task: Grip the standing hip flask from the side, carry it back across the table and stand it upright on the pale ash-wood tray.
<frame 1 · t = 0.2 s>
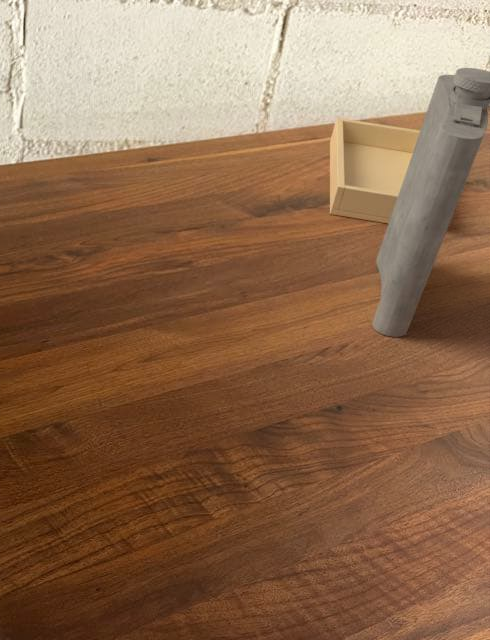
tray: (378, 183, 104), on the table
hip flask: (394, 297, 86), on the table
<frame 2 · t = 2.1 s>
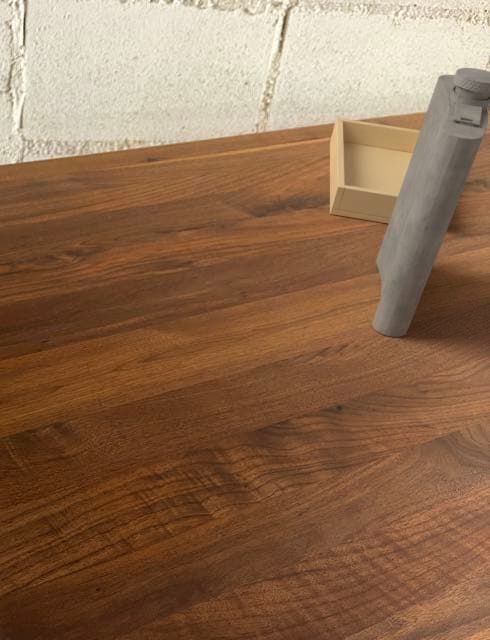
nothing on the table moved.
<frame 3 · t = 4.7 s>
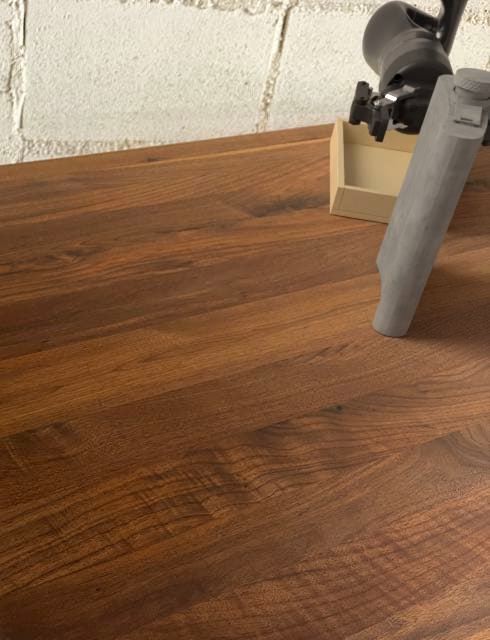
hand: (427, 139, 85), 11 cm above the table, tool horizontal, fingers open, 8 cm apart
nothing on the table moved.
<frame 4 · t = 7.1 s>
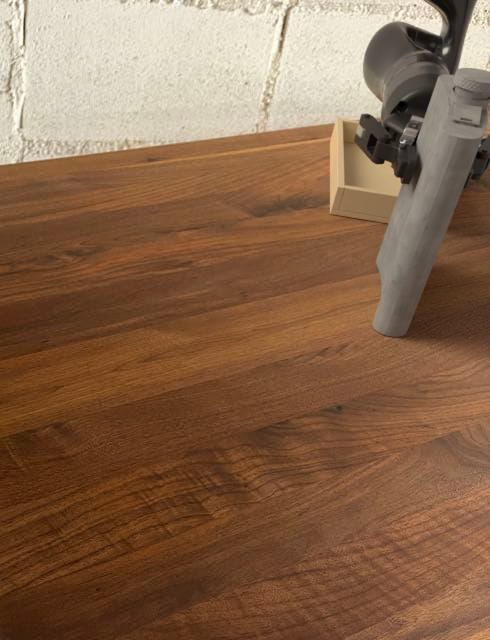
hand: (434, 177, 79), 11 cm above the table, tool horizontal, fingers closed on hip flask, 4 cm apart
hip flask: (394, 297, 86), on the table, touching gripper
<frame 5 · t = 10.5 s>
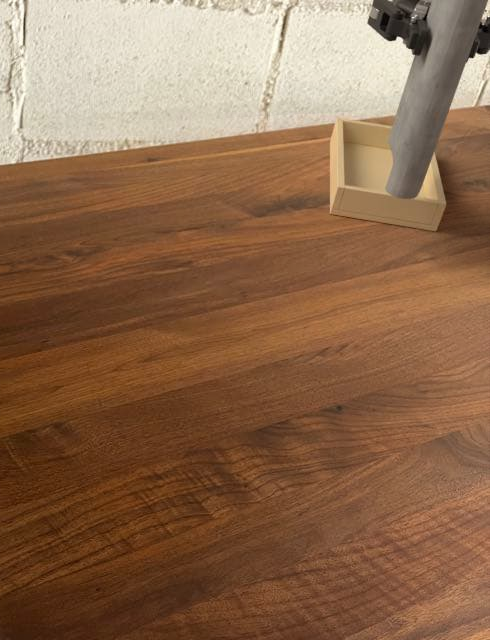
hand: (444, 47, 84), 18 cm above the table, tool horizontal, fingers closed on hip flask, 4 cm apart
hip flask: (405, 169, 91), point 6 cm above the table, touching gripper
when the fingers open (12 cm above the table, at t = 14.1 s): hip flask stays where it is, resting on tray.
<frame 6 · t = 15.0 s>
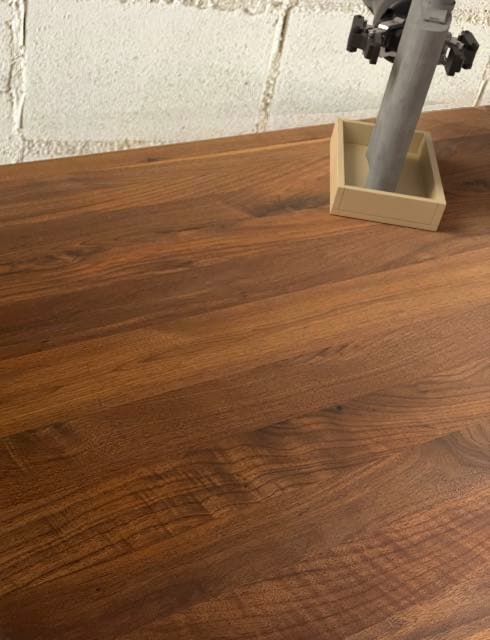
hand: (414, 60, 97), 13 cm above the table, tool horizontal, fingers open, 8 cm apart
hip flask: (380, 179, 104), resting on tray
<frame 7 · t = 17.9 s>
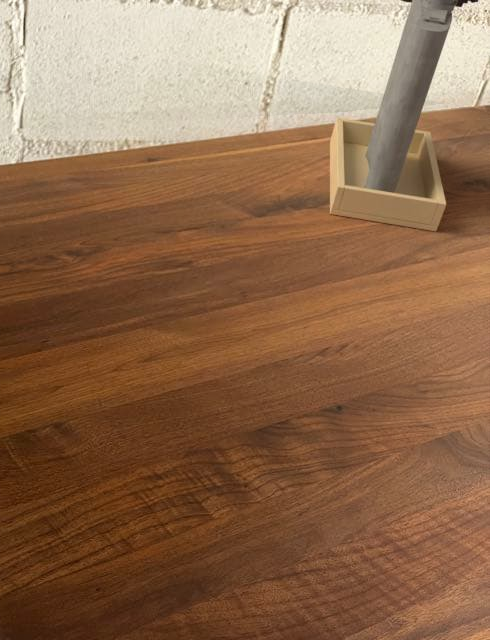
nothing on the table moved.
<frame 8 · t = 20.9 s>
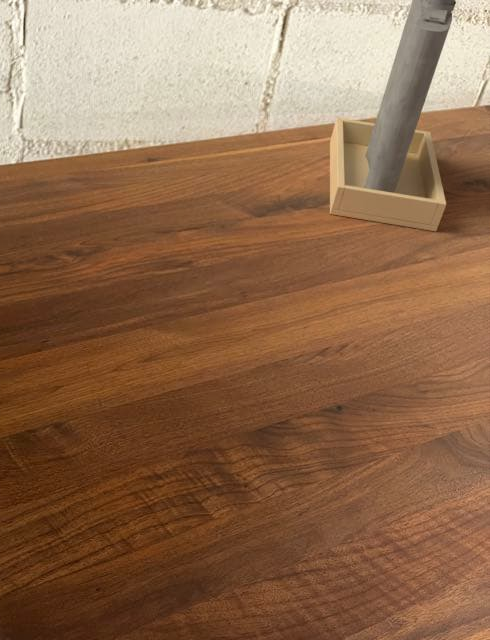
nothing on the table moved.
at the end: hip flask inside the target area in the tray (0.1 cm from its centre), point 0.4 cm above the tray's base; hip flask tilted 0°; the gripper is holding nothing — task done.
